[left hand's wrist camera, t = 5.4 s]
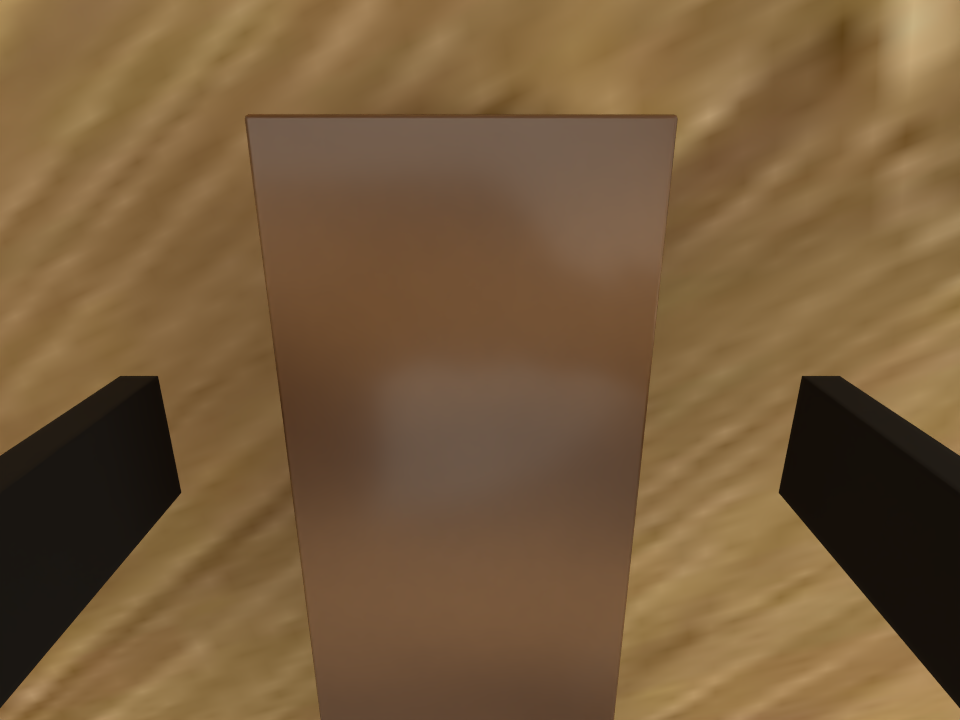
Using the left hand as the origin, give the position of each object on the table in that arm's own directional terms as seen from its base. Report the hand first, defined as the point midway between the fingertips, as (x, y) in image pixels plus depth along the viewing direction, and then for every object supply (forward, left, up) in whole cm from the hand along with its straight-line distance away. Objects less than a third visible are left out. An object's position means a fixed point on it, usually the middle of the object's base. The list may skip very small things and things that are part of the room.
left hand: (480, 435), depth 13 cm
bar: (+14, -25, -6) cm, 29 cm away
